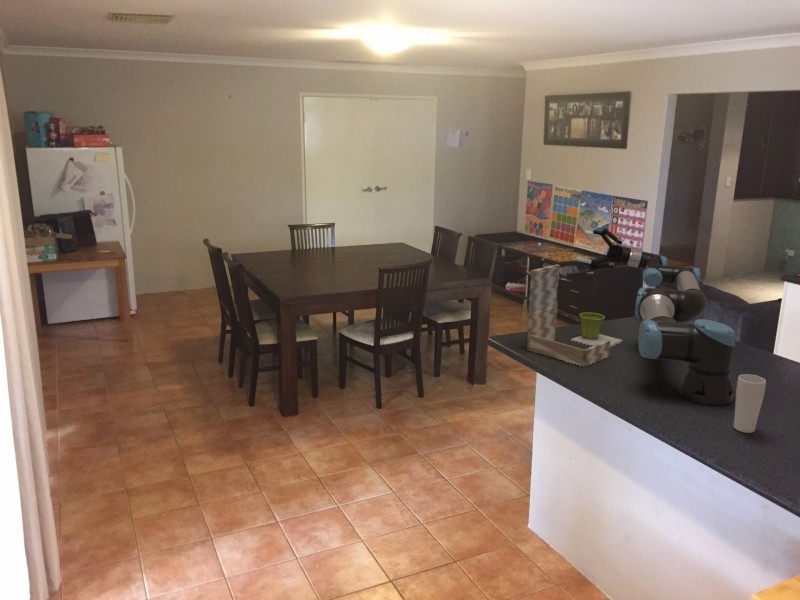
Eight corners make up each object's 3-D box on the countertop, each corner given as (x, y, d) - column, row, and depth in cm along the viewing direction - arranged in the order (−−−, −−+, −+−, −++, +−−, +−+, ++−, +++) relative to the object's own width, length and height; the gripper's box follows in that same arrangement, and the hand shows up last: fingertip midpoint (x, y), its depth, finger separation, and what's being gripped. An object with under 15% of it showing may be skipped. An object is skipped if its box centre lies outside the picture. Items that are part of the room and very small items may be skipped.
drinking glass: (749, 423, 184) (757, 373, 180) (763, 435, 177) (771, 383, 174) (725, 424, 184) (733, 373, 180) (738, 435, 177) (746, 383, 173)
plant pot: (600, 334, 259) (602, 313, 257) (604, 341, 250) (606, 319, 248) (576, 332, 261) (578, 311, 258) (579, 340, 252) (581, 318, 249)
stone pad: (590, 333, 263) (590, 331, 262) (622, 342, 253) (622, 340, 252) (570, 340, 253) (570, 339, 253) (603, 350, 243) (603, 348, 243)
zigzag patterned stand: (551, 340, 254) (557, 264, 246) (608, 356, 237) (616, 275, 229) (525, 349, 243) (530, 270, 235) (584, 367, 226) (591, 282, 218)
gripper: (620, 276, 296) (573, 265, 300) (638, 228, 282) (588, 216, 286) (620, 284, 290) (572, 272, 294) (638, 235, 276) (587, 223, 280)
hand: (580, 245), depth 290 cm, fingers open, 13 cm apart
